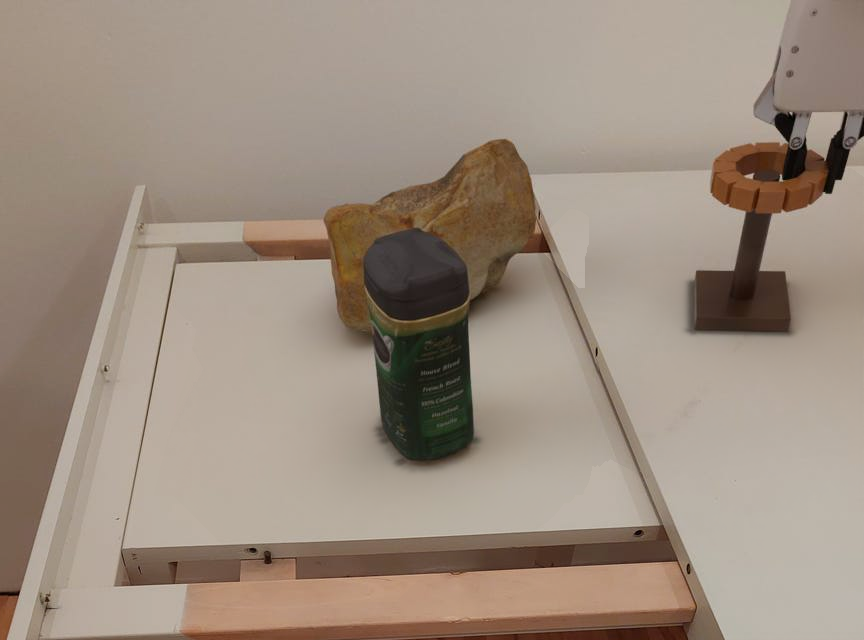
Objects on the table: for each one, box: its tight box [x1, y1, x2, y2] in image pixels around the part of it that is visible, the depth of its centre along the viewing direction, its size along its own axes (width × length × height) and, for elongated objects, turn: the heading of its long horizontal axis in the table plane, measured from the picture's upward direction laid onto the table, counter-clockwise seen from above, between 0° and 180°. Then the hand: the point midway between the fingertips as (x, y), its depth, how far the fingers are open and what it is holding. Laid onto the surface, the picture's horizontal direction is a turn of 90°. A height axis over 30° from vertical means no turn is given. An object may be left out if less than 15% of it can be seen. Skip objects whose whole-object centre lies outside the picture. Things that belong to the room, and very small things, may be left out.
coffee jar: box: [363, 227, 475, 462], centre depth 82 cm, size 10×8×19 cm
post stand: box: [693, 170, 792, 333], centre depth 92 cm, size 9×9×14 cm
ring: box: [709, 141, 828, 214], centre depth 87 cm, size 10×10×2 cm
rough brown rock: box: [323, 138, 537, 335], centre depth 100 cm, size 23×17×15 cm
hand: (809, 185), depth 87 cm, fingers closed on ring, 2 cm apart
